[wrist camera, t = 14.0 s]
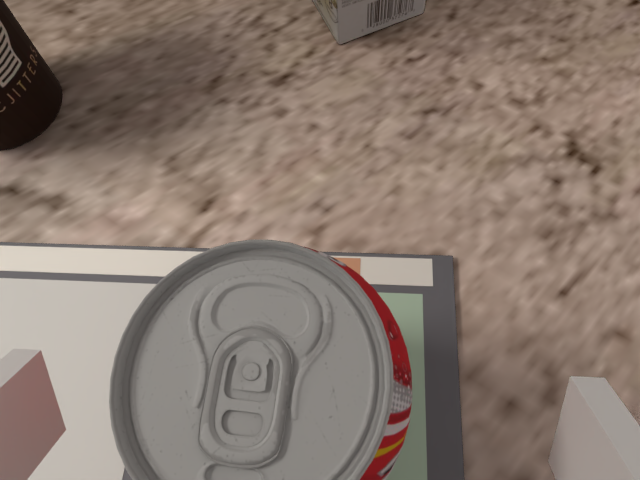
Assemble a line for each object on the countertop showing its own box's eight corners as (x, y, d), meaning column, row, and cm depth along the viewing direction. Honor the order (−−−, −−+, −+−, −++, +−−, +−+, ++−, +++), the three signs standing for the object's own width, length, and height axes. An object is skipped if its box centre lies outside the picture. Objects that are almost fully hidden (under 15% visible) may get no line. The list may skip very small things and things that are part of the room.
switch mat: (-32, 242, 25) (-36, 240, 24) (451, 257, 22) (452, 255, 22) (-145, 542, 19) (-152, 543, 19) (469, 604, 17) (471, 606, 17)
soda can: (392, 327, 21) (433, 222, 10) (382, 499, 18) (423, 622, 7) (244, 313, 22) (128, 200, 11) (216, 475, 19) (21, 553, 8)
